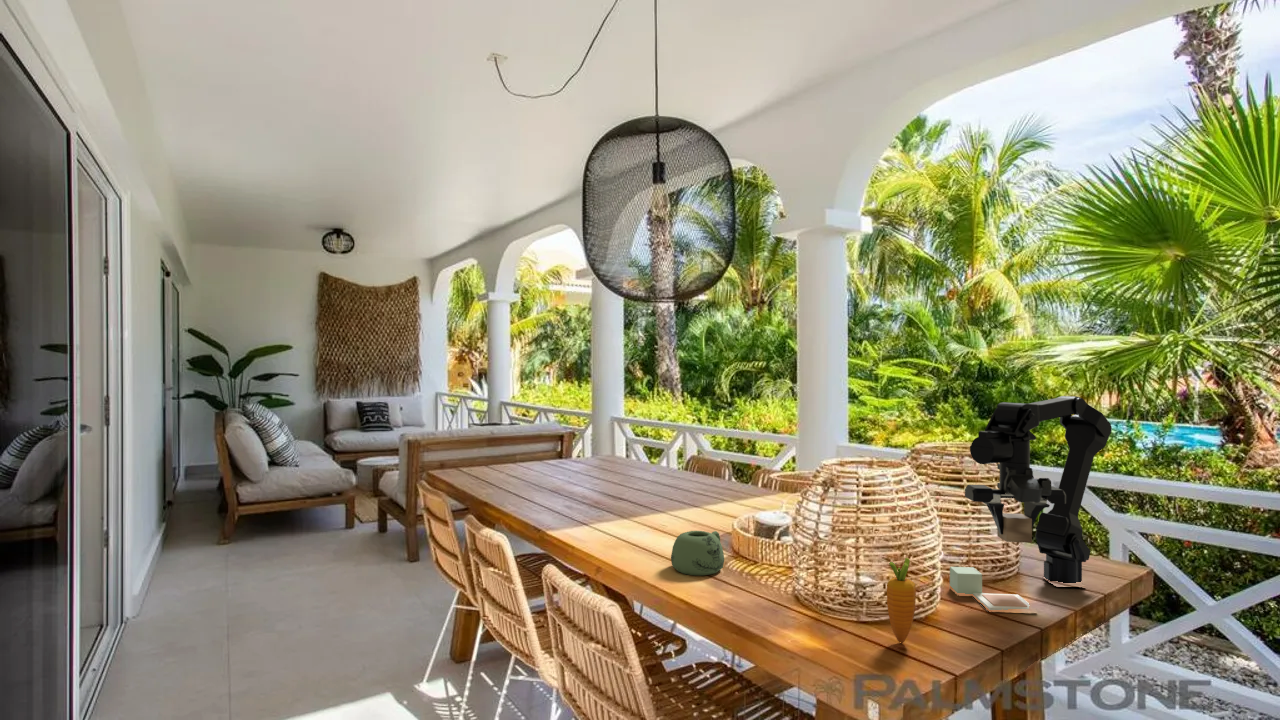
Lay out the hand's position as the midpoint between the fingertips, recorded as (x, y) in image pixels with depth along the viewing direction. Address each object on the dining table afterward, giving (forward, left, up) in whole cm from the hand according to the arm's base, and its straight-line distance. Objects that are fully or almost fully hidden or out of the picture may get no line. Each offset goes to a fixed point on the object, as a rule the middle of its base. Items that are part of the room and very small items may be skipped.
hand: (1014, 534), depth 152 cm
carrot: (+31, +29, -13) cm, 45 cm away
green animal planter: (+67, -13, -13) cm, 69 cm away
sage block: (+10, 0, -13) cm, 16 cm away
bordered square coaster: (+5, +7, -13) cm, 16 cm away
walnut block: (0, 0, -1) cm, 1 cm away
